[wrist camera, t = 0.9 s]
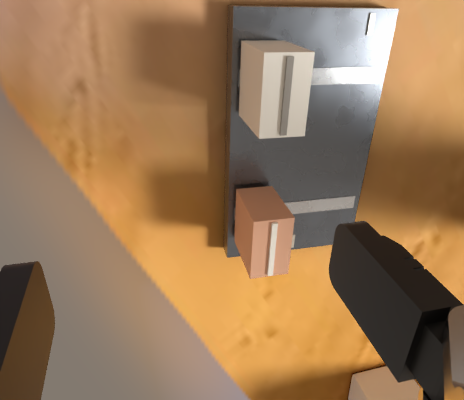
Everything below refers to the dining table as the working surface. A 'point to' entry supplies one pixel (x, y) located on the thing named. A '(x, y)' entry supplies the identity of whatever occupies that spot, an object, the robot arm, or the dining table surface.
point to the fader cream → (275, 87)
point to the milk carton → (381, 386)
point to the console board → (310, 115)
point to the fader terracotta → (263, 231)
